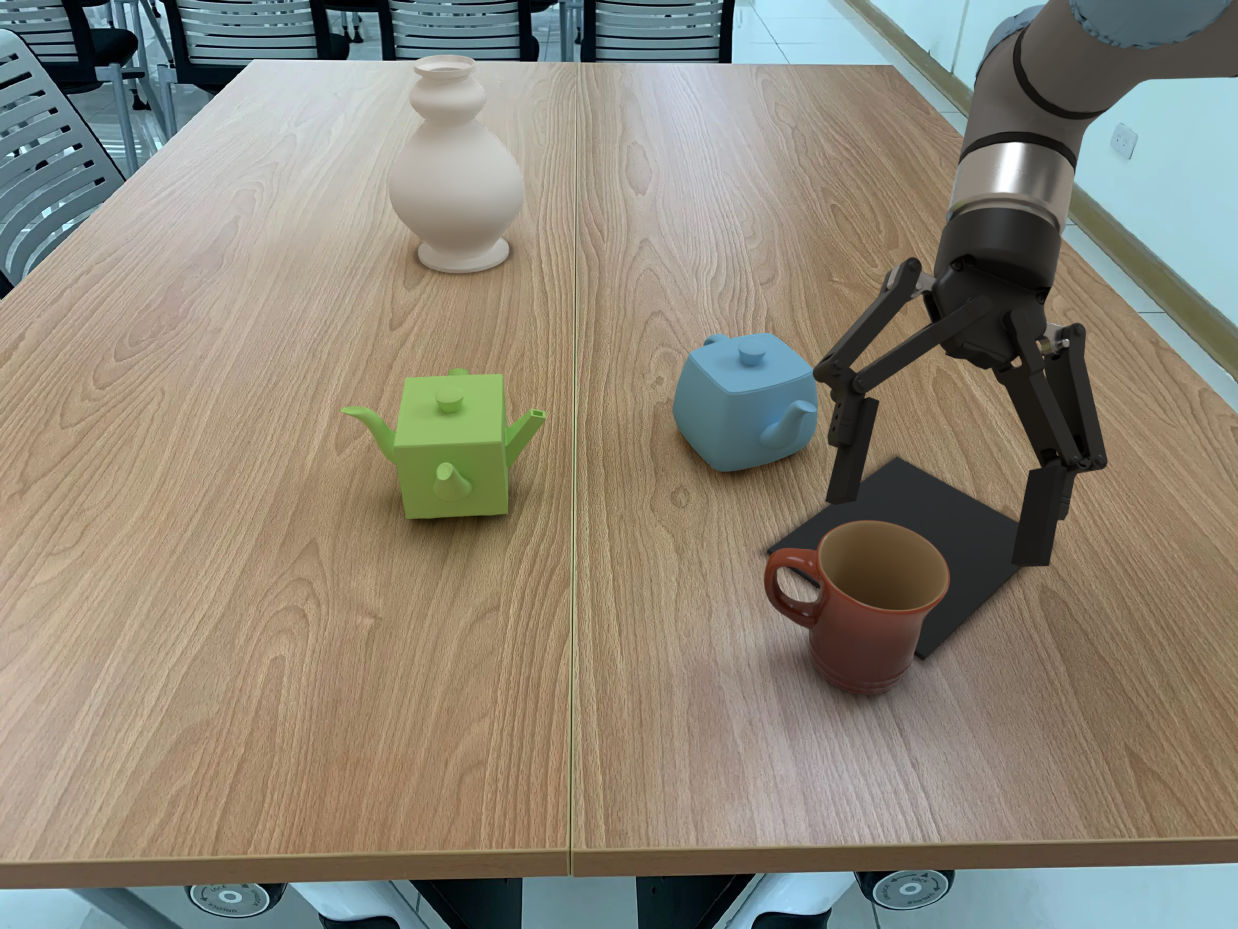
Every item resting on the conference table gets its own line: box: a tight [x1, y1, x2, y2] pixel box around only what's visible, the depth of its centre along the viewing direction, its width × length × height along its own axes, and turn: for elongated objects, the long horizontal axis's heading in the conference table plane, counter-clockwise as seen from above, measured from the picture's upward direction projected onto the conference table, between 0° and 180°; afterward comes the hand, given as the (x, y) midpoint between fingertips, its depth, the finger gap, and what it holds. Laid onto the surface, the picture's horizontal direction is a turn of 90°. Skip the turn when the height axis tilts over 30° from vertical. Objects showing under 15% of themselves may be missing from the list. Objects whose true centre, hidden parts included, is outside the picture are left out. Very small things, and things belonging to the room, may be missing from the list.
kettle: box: [340, 367, 547, 520], centre depth 81 cm, size 15×14×11 cm
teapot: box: [672, 332, 819, 473], centre depth 86 cm, size 12×18×12 cm
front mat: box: [766, 456, 1022, 661], centre depth 79 cm, size 16×20×1 cm
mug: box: [763, 520, 950, 696], centre depth 66 cm, size 13×9×11 cm
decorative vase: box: [388, 54, 526, 274], centre depth 116 cm, size 18×18×25 cm
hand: (936, 534), depth 56 cm, fingers open, 13 cm apart
